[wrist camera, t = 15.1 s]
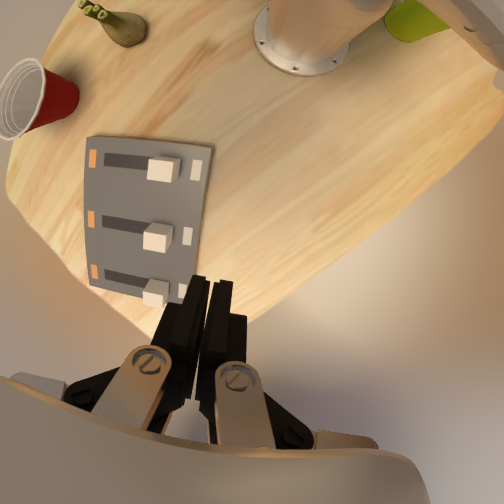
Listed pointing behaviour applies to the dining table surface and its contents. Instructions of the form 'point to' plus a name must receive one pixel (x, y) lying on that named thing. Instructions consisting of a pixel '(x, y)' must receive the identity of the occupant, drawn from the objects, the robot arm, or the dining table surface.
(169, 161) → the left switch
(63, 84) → the plastic cup
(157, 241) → the switch
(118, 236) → the switch panel
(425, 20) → the soap dispenser
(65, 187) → the dining table surface
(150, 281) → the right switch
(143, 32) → the fennel bulb
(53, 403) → the robot arm
